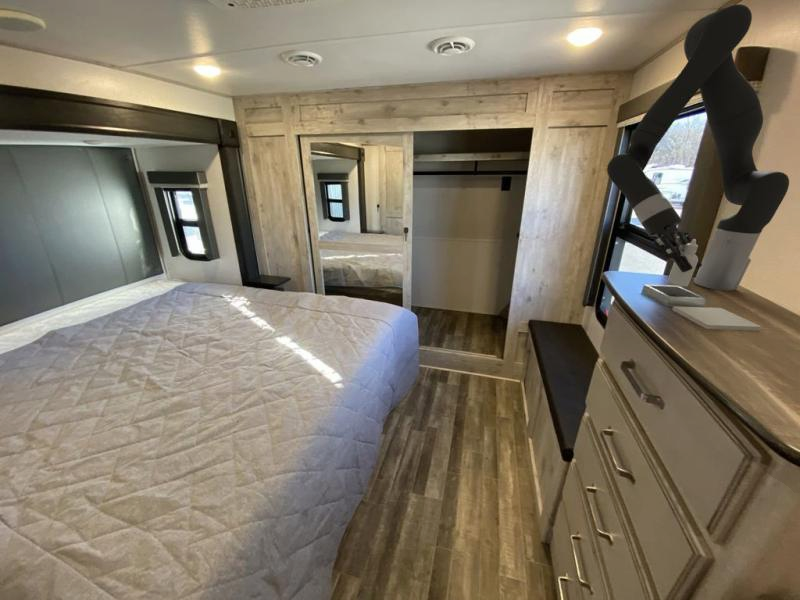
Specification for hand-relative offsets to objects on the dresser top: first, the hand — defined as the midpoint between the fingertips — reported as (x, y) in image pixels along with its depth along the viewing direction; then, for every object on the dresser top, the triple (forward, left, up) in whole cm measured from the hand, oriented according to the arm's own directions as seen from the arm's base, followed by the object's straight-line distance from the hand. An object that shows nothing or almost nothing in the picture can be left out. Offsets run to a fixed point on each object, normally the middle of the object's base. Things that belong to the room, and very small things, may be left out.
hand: (692, 269), depth 82 cm
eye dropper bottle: (+1, -2, -5) cm, 5 cm away
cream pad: (0, +11, -9) cm, 14 cm away
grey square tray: (+1, -1, -9) cm, 10 cm away
